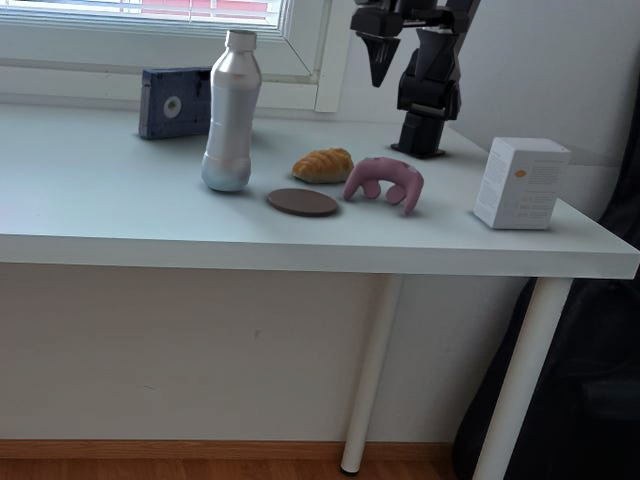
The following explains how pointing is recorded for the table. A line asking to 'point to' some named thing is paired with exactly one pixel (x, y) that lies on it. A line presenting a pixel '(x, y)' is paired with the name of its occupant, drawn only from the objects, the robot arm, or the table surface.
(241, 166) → the plastic bottle
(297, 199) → the walnut coaster
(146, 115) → the vhs cassette tape
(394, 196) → the video game controller
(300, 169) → the pastry
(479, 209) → the small box
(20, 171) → the table surface
